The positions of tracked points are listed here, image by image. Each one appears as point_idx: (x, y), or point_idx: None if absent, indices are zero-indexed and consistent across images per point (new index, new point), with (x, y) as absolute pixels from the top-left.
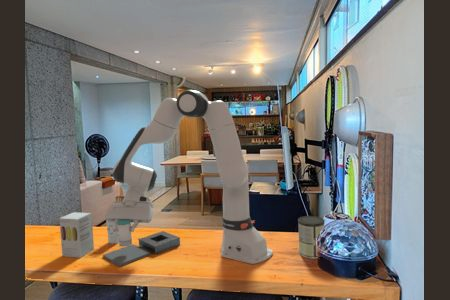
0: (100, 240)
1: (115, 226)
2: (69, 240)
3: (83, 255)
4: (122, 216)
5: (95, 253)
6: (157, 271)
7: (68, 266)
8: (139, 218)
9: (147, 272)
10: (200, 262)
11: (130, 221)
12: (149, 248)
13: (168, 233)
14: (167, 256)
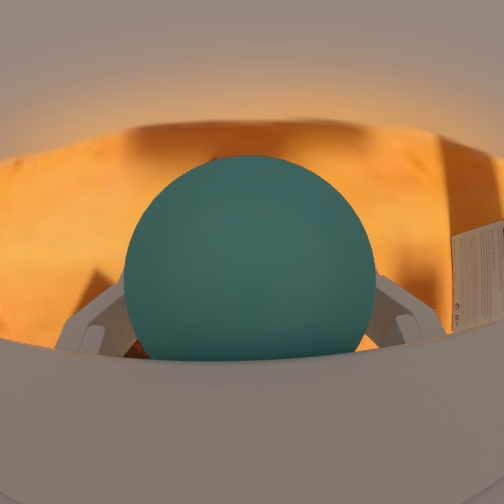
0: None
1: (375, 268)
2: None
3: (452, 253)
4: (355, 388)
5: (424, 290)
6: (50, 165)
7: (435, 159)
8: (5, 345)
9: (80, 149)
10: None
11: (129, 298)
12: (131, 355)
13: None
14: (44, 300)
